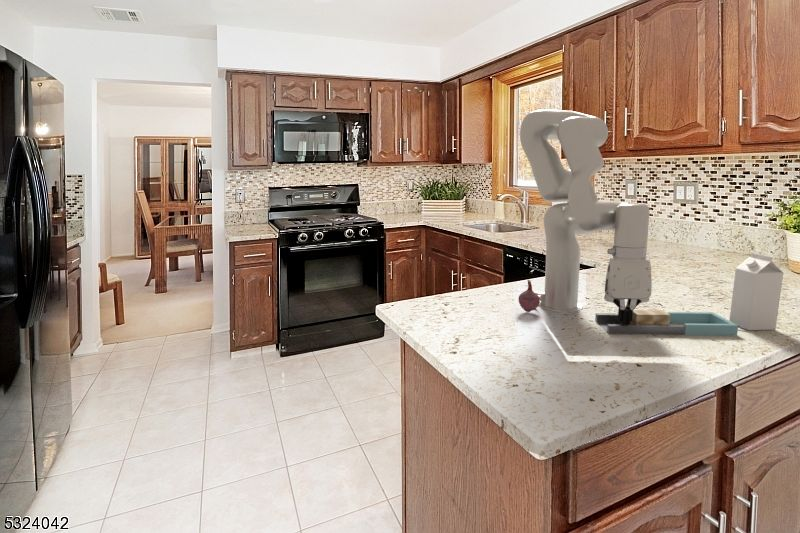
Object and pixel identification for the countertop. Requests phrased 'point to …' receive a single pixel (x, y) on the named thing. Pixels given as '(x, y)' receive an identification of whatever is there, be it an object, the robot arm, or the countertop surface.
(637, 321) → the chip
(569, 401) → the countertop surface
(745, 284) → the milk carton
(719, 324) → the tray
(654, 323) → the chip
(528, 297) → the vegetable
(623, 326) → the rail
